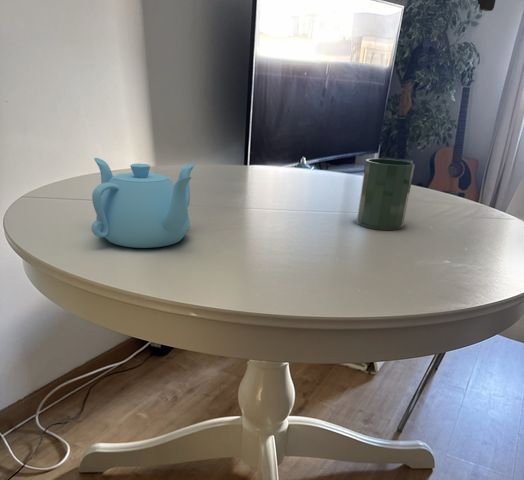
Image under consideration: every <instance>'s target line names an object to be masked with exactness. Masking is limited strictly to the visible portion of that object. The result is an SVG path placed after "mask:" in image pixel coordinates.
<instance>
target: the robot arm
mask: <svg viewBox="0 0 524 480" xmlns="http://www.w3.org/2000/svg"><path fill="white" fill-rule="evenodd" d="M495 4H496V0H477V5H479V10H481V11H484V12H492V11H493V10H494V8H495Z"/></svg>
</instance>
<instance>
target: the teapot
mask: <svg viewBox="0 0 524 480" xmlns="http://www.w3.org/2000/svg"><path fill="white" fill-rule="evenodd" d="M93 159H94V162H95V163H96V164H97V167H98V169H99V172H100V181H101V182H100V184H98V185H97V186H96V187H95V188H93V191H92V195H91V201H92V206H93V209H94V211H95V214H96V217H95V221H93V223H91V232H92V234H93V235H94V236H95V237H98V238H105V239H106V240H107V241H108V242H110V243H111V244H113V245H117V246H121V247H125V248H138V249H151V248H152V249H153V248H160V247H168V246H171V245H175V244H177V243H179V242H180V241H181V240H182V239H183V238H184V237H185V236H186V234H187V233H188V231H189V229H190V227H191V221H190V217H189V210H188V208H189V206H190V203H191V202H190V201H191V190H190V180H191V179H192V177H193V176H191V173H192V170H193V169H194V167H195V166H196V163H195V162H193V163H192V162H191V163H187V164H186V165H184V166H183V167H182V168H181V170H180V172H179V174H178V179H177V180H176V182H175V183H174V182H173V180H171V178H170V177H169V176H167V175H165V174H161V173H153V172H150V170H151V165H150V164H147V163H132V164H130V165H129V167H130V169H131V171H132V172H124V173H117V174H114V175H113V172H112V170H111V168H110V166H109V164H108V163H107V162H106V161H105V160H103V159H101V158H99V157H94V158H93Z"/></svg>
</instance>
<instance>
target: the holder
mask: <svg viewBox="0 0 524 480" xmlns="http://www.w3.org/2000/svg"><path fill="white" fill-rule="evenodd" d="M415 166H416V165H415V163H414V162H412V161H407V160H401V159H391V158H367V159H365V160H364V167H363V175H362V183H361V188H360V196H359V202H358V211H357V217H356V219H357V220H356V223H357V225H359V226H360V227H363V228H367V229H371V230H377V231H397V230H401V229H402V228H403V226H404V224H405V218H406V213H407V208H408V202H409V196H410V192H411V187H412V181H413V177H414V170H415Z"/></svg>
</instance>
